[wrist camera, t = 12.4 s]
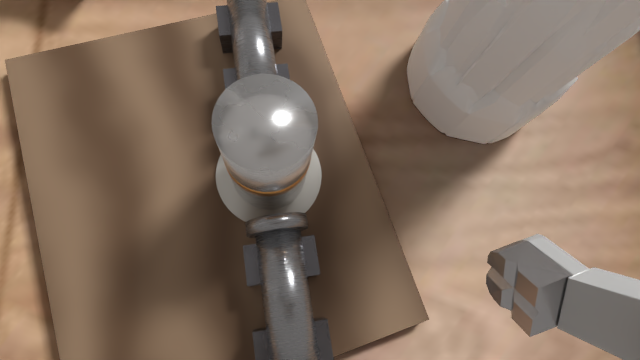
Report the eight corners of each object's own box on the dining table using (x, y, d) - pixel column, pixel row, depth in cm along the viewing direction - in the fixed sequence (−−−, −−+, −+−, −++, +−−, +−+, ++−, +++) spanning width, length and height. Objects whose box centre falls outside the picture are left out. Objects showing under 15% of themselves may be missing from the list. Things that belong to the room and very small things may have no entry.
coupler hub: (243, 219, 27) (228, 185, 18) (223, 150, 28) (198, 87, 19) (315, 197, 28) (332, 154, 19) (292, 131, 29) (299, 62, 20)
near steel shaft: (242, 229, 27) (237, 219, 23) (308, 220, 28) (313, 208, 24) (259, 375, 25) (256, 391, 21) (330, 361, 25) (340, 374, 22)
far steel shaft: (293, 125, 29) (296, 99, 26) (232, 131, 29) (225, 106, 25) (277, 18, 32) (277, -21, 28) (219, 22, 31) (211, -18, 27)
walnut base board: (87, 450, 24) (75, 460, 23) (15, 69, 30) (2, 57, 28) (422, 318, 28) (430, 319, 26) (302, 4, 34) (303, -9, 32)
